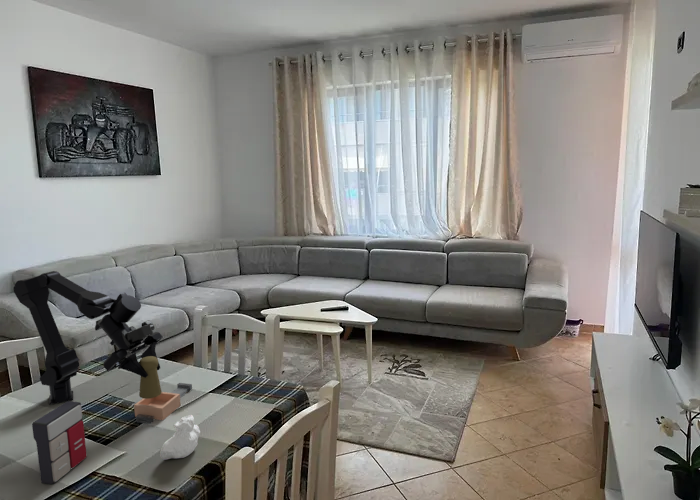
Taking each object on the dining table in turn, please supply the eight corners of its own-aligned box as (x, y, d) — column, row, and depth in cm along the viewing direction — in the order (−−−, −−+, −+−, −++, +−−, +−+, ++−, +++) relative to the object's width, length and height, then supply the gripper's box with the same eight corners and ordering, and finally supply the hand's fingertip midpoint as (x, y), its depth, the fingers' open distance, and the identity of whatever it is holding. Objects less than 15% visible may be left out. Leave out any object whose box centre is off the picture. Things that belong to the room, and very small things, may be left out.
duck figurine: (165, 474, 118) (184, 448, 114) (146, 450, 120) (164, 424, 116) (201, 449, 129) (219, 424, 124) (183, 427, 131) (201, 402, 126)
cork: (139, 390, 143) (137, 355, 141) (161, 387, 145) (159, 352, 143) (138, 400, 137) (136, 363, 135) (161, 396, 139) (159, 360, 137)
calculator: (54, 485, 111) (47, 425, 108) (38, 483, 112) (31, 423, 109) (89, 457, 121) (83, 401, 119) (74, 455, 122) (68, 400, 120)
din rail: (136, 422, 138) (136, 416, 138) (179, 387, 159) (179, 382, 159) (150, 423, 137) (150, 417, 137) (192, 389, 158) (191, 384, 158)
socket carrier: (135, 416, 141) (134, 404, 141) (154, 402, 150) (153, 390, 149) (162, 420, 139) (162, 408, 139) (180, 405, 148) (179, 393, 147)
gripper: (109, 325, 129) (146, 369, 128) (156, 305, 147) (189, 345, 146) (87, 349, 133) (123, 393, 132) (135, 327, 151) (168, 366, 149)
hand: (153, 372), depth 140 cm, fingers closed on cork, 5 cm apart
